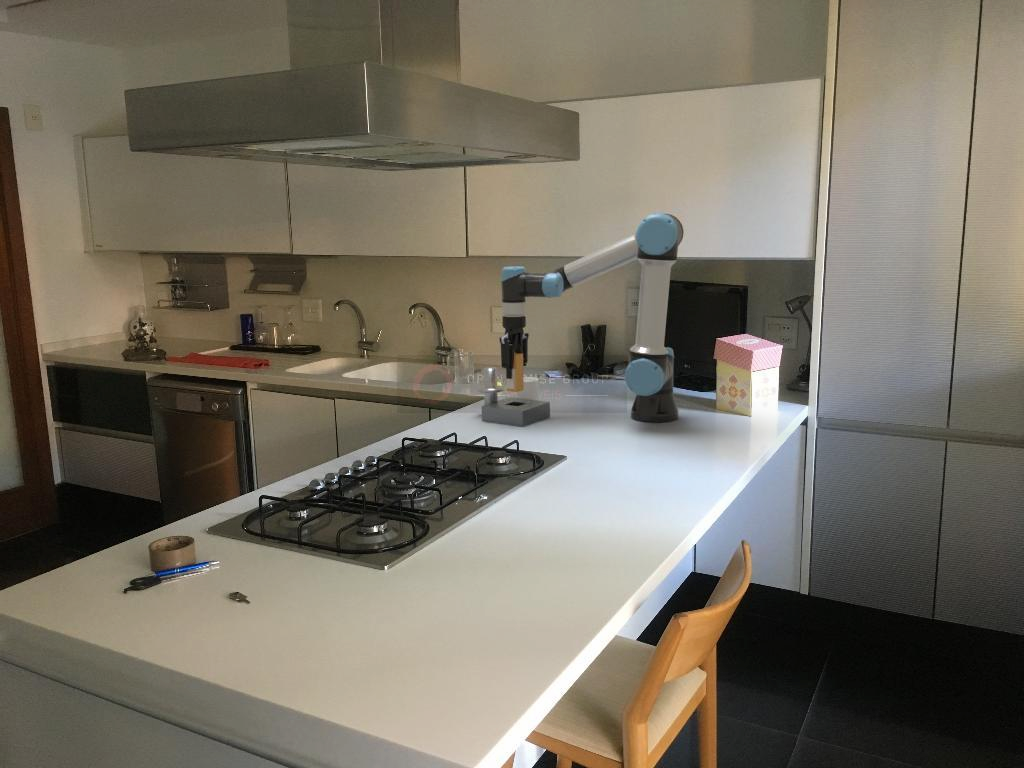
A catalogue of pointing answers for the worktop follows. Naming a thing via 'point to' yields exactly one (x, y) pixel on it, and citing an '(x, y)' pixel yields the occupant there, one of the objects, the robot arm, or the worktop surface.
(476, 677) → the worktop surface
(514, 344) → the robot arm
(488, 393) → the grey peg stand
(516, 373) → the tall orange block
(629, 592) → the worktop surface
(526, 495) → the worktop surface
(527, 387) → the cup
